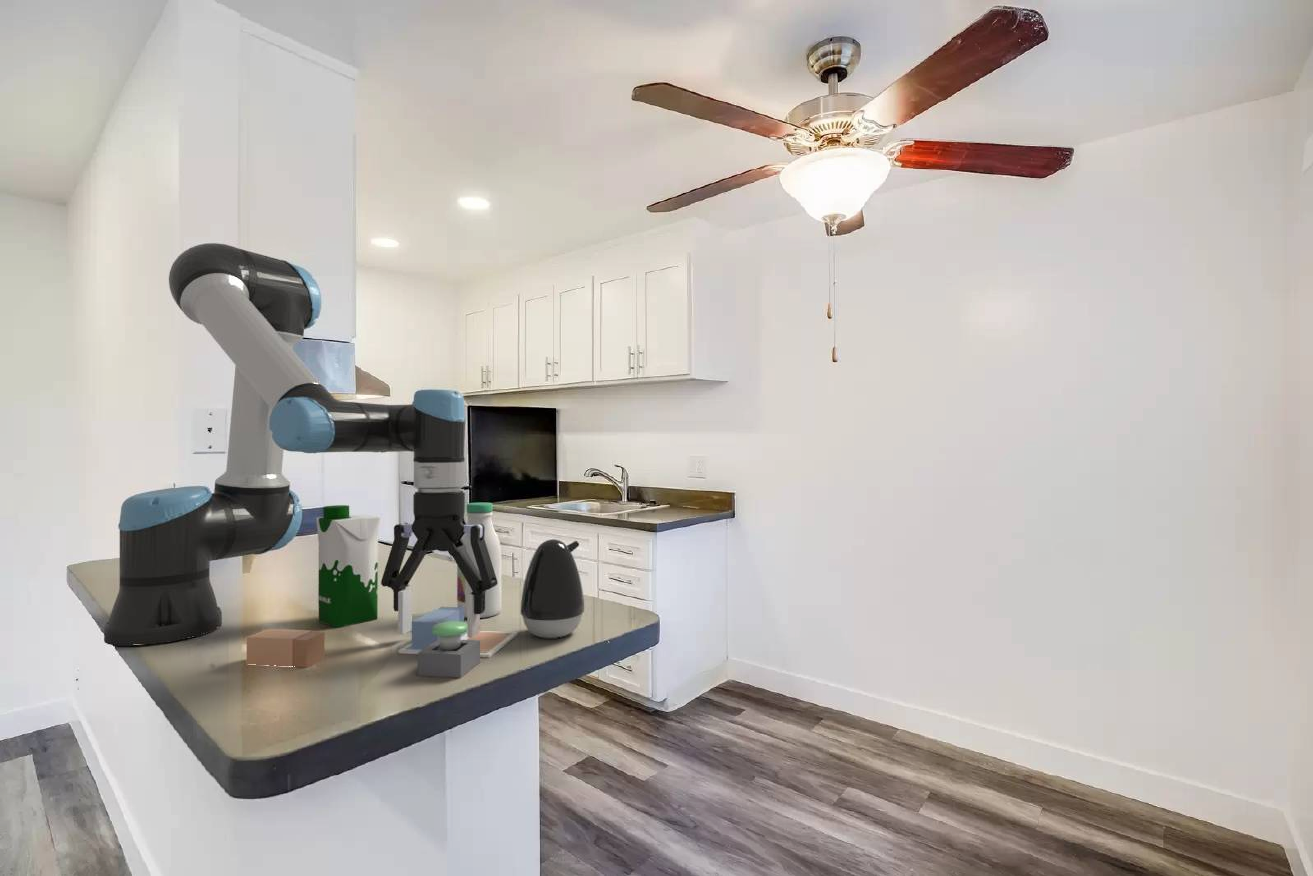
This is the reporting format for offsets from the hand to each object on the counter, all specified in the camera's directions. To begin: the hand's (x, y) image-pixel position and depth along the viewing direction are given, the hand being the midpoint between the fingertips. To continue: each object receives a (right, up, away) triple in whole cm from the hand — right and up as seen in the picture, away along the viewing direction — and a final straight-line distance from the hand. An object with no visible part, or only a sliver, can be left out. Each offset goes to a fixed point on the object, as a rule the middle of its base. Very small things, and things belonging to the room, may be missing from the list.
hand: (439, 633), depth 97 cm
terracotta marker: (-19, -1, -8) cm, 20 cm away
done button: (+5, +2, -11) cm, 13 cm away
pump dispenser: (+17, -2, +5) cm, 18 cm away
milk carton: (-20, -2, +13) cm, 24 cm away
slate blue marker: (0, -1, 0) cm, 1 cm away
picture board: (+3, -1, -1) cm, 4 cm away
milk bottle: (+1, -2, +17) cm, 17 cm away
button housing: (+5, -1, -11) cm, 13 cm away
